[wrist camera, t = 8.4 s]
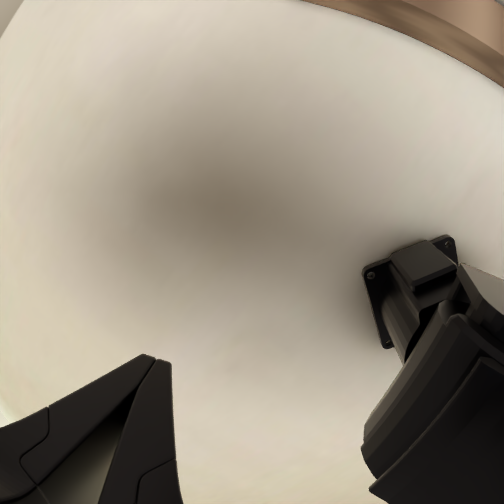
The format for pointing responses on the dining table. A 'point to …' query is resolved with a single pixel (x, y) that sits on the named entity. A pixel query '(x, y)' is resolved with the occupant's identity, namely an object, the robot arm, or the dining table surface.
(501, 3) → the key mid
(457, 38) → the key board
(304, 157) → the dining table surface
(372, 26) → the dining table surface
